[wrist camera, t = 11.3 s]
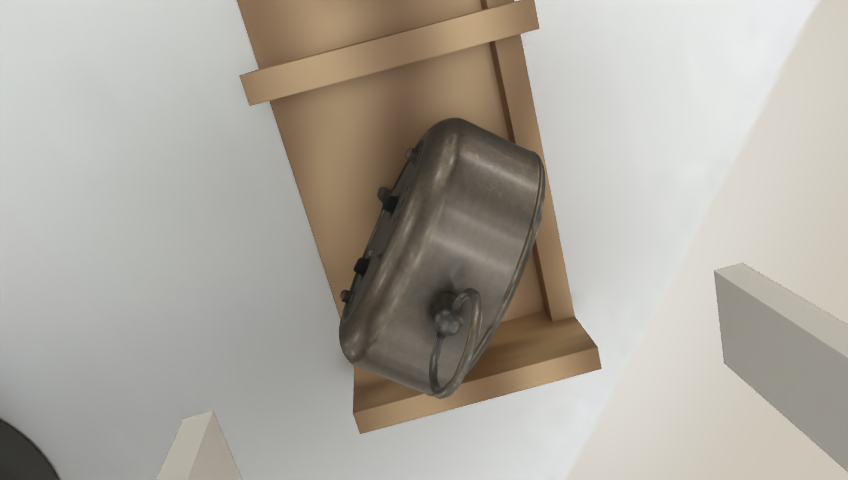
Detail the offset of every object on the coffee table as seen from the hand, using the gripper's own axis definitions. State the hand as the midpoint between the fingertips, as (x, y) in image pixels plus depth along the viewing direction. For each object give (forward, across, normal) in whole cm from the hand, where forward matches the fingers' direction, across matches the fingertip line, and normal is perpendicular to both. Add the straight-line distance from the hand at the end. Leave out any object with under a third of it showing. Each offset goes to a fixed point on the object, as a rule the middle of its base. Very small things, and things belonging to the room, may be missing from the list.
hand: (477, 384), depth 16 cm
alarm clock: (+18, 0, 0) cm, 18 cm away
